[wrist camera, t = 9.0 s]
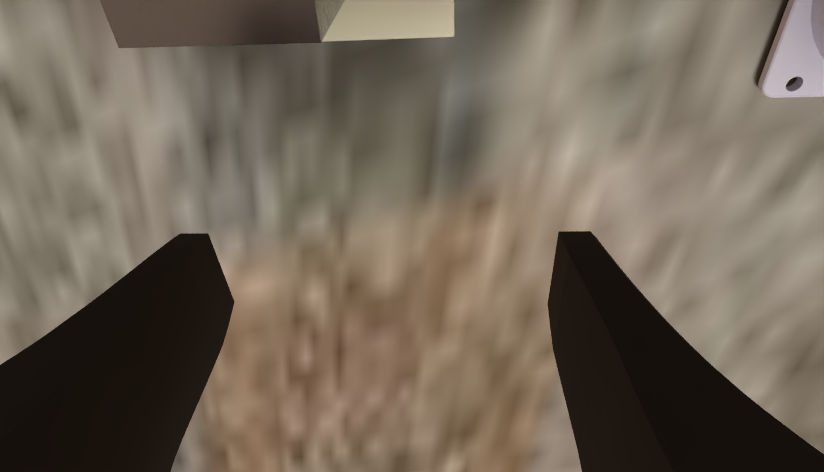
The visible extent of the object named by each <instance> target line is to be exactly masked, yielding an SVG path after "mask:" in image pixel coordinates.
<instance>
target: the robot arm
mask: <svg viewBox="0 0 824 472" xmlns="http://www.w3.org/2000/svg"><path fill="white" fill-rule="evenodd" d="M794 77H797V80H796V81H795V83H794V84H792V85H791V86H787V87H786V84H787V82H788V81H789V80H790V79H792V78H794ZM758 87H759V90H760V91H761V92H762V93H763V94H764V95H766V96H767V97H771V98H783V97H823V96H824V0H789V1H788V4H787V7H786V9H785V12H784V15H783V17H782V20H781V23H780V26H779V28H778V31H777V34H776V36H775V39H774V42H773V44H772V47H771V50H770V52H769V55H768V58H767V61H766V63H765V66H764V69H763V71H762V74H761V77H760V79H759V84H758ZM233 305H234V300H233V297H232V295H231V292H230V289H229V287H228V284H227V282H226V279H225V276H224V274H223V271H222V269H221V266H220V263H219V261H218V258H217V256H216V253H215V250H214V248H213V245H212V242H211V240H210V237H209V235H208V234H179V235H178V236H176V237H175V238H173V239H172V240H170V241H169V242H168V243H166V244H165V245H164V246H162V247H161V248H160V249H159V250H157V251H156V252H155V253H153V254H152V255H151V256H150V257H148V258H147V259H146V260H144V261H143V262H142V263H141V264H139V265H138V266H137V267H136V268H134V269H133V270H132V271H131V272H129V273H128V274H127V275H125V276H124V277H123V278H122V279H120V280H119V281H118V282H117V283H115V284H114V285H113V286H111V287H110V288H109V289H108V290H106V291H105V292H104V293H102V294H101V295H100V296H99V297H97V298H96V299H95V300H93V301H92V302H91V303H89V304H88V305H87V306H85V307H84V308H82V309H81V310H80V311H78V312H77V313H76V314H74V315H73V316H71V317H70V318H69V319H67V320H66V321H65V322H63V323H62V324H60V325H59V326H58V327H56V328H55V329H54V330H52V331H51V332H49V333H48V334H47V335H45V336H44V337H42V338H41V339H39V340H38V341H36V342H35V343H34V344H32V345H31V346H29V347H27V348H26V349H24V350H23V351H21V352H20V353H18V354H17V355H15V356H14V357H12V358H10V359H9V360H7V361H6V362H4V363H2V364H1V365H0V472H170V471H171V468H172V465H173V462H174V459H175V456H176V454H177V451H178V449H179V446H180V443H181V441H182V438H183V436H184V434H185V431H186V429H187V427H188V425H189V422H190V420H191V418H192V415H193V413H194V411H195V409H196V406H197V404H198V402H199V399H200V397H201V395H202V392H203V390H204V388H205V386H206V383H207V381H208V379H209V376H210V374H211V372H212V369H213V367H214V365H215V362H216V360H217V357H218V355H219V353H220V350H221V348H222V345H223V342H224V339H225V335H226V332H227V329H228V325H229V321H230V317H231V313H232V309H233ZM548 310H549V319H550V328H551V336H552V344H553V351H554V355H555V359H556V363H557V367H558V372H559V376H560V380H561V384H562V388H563V392H564V396H565V400H566V404H567V408H568V412H569V416H570V420H571V424H572V429H573V433H574V437H575V441H576V445H577V449H578V453H579V458H580V463H581V468H582V472H824V454H823V453H821V452H820V451H818V450H817V449H816V448H814V447H813V446H811V445H810V444H809V443H807V442H806V441H805V440H803V439H802V438H801V437H799V436H798V435H797V434H795V433H794V432H793V431H791V430H790V429H789V428H787V427H786V426H785V425H783V424H782V423H781V422H780V421H778V420H777V419H776V418H774V417H773V416H772V415H770V414H769V413H768V412H766V411H765V410H764V409H763V408H761V407H760V406H759V405H758V404H756V403H755V402H754V401H753V400H751V399H750V398H749V397H748V396H746V395H745V394H744V393H743V392H742V391H740V390H739V389H738V388H737V387H736V386H735V385H734V384H732V383H731V382H730V381H729V380H728V379H727V378H726V377H724V376H723V375H722V374H721V373H720V372H719V371H717V370H716V369H715V368H714V367H713V366H712V365H711V364H710V363H709V362H707V361H706V360H705V359H704V358H703V357H702V356H701V355H700V354H699V353H698V352H697V351H696V350H695V349H694V348H693V347H692V346H691V345H690V344H689V343H688V342H687V341H686V340H685V339H684V338H683V337H682V336H681V335H680V334H679V333H678V332H677V331H676V330H675V329H674V328H673V327H672V326H671V325H670V324H669V323H668V322H667V321H666V320H665V319H664V318H663V316H662V315H661V314H660V313H659V312H658V311H657V310H656V309H655V308H654V307H653V305H652V304H651V303H650V302H649V301H648V300H647V299H646V298H645V297H644V295H643V294H642V293H641V292H640V291H639V290H638V289H637V287H636V286H635V285H634V284H633V283H632V282H631V280H630V279H629V278H628V277H627V276H626V274H625V273H624V272H623V271H622V270H621V268H620V267H619V266H618V265H617V263H616V262H615V261H614V260H613V258H612V257H611V256H610V255H609V253H608V252H607V251H606V250H605V248H604V247H603V246H602V245H601V243H600V242H599V241H598V239H597V238H596V237H595V236H594V235H593V234H592V233H591V232H590V231H586V232H559V233H558V240H557V246H556V253H555V259H554V266H553V273H552V279H551V286H550V292H549V299H548Z"/></svg>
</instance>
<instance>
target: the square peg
mask: <svg viewBox="0 0 824 472" xmlns="http://www.w3.org/2000/svg"><path fill="white" fill-rule="evenodd" d="M100 1H101V4H102V6H103V9H104V11H105V14H106V16H107V19H108V22H109V24H110V27H111V29H112V32H113V34H114V37H115V39H116V42H117V44H118V47H119V48H138V47H175V46H212V45H249V44H286V43H321V42H322V40H323V38H324V36H325V35H326V33H327V31H328V29H329V28H330V26H331V24H332V22H333V20H334V19H335V17H336V15H337V13H338V11H339V10H340V8H341V6H342V4H343V3H344V1H345V0H100Z"/></svg>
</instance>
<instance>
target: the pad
mask: <svg viewBox="0 0 824 472" xmlns="http://www.w3.org/2000/svg"><path fill="white" fill-rule="evenodd" d="M432 37H454V0H345V1H344V3H343V4H342V6H341V8H340V10H339V11H338V13H337V15H336V17H335V19H334V20H333V22H332V24H331V26H330V28H329V29H328V31H327V33H326V35H325V36H324V38H323V40H322V41H349V40H377V39H404V38H432Z"/></svg>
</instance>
